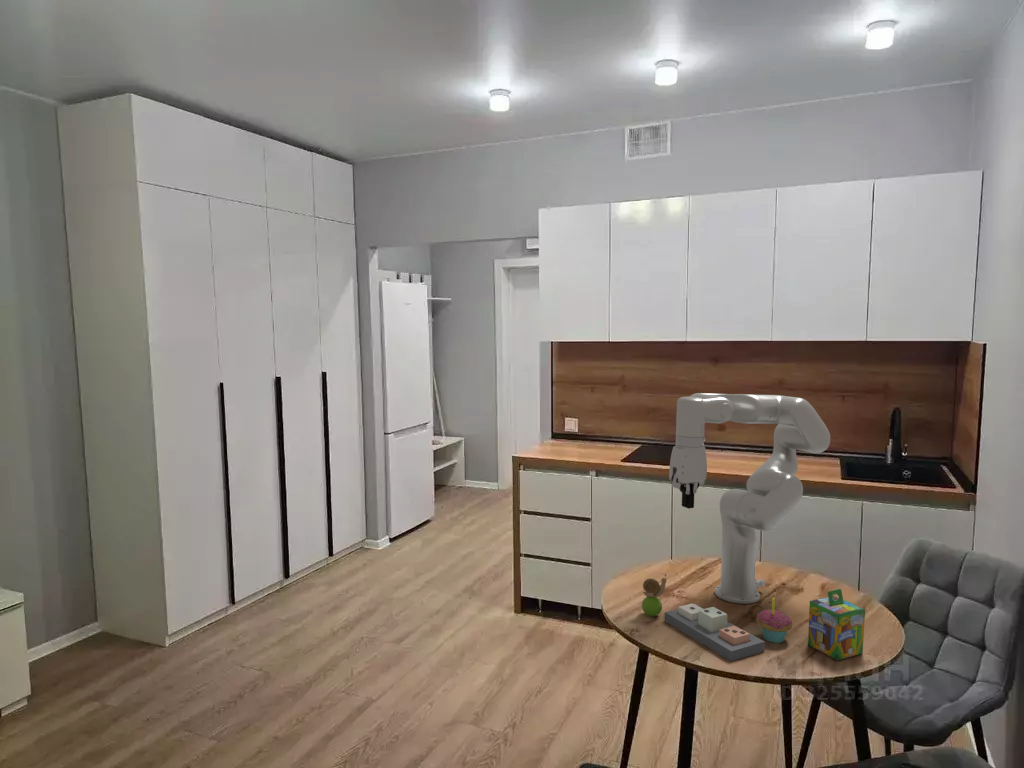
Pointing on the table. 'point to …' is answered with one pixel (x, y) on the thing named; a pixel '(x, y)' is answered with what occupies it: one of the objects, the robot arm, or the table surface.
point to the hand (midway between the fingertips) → (687, 506)
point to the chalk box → (836, 626)
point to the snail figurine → (653, 596)
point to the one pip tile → (690, 611)
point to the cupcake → (774, 624)
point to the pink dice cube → (734, 635)
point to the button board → (714, 637)
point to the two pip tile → (712, 619)
